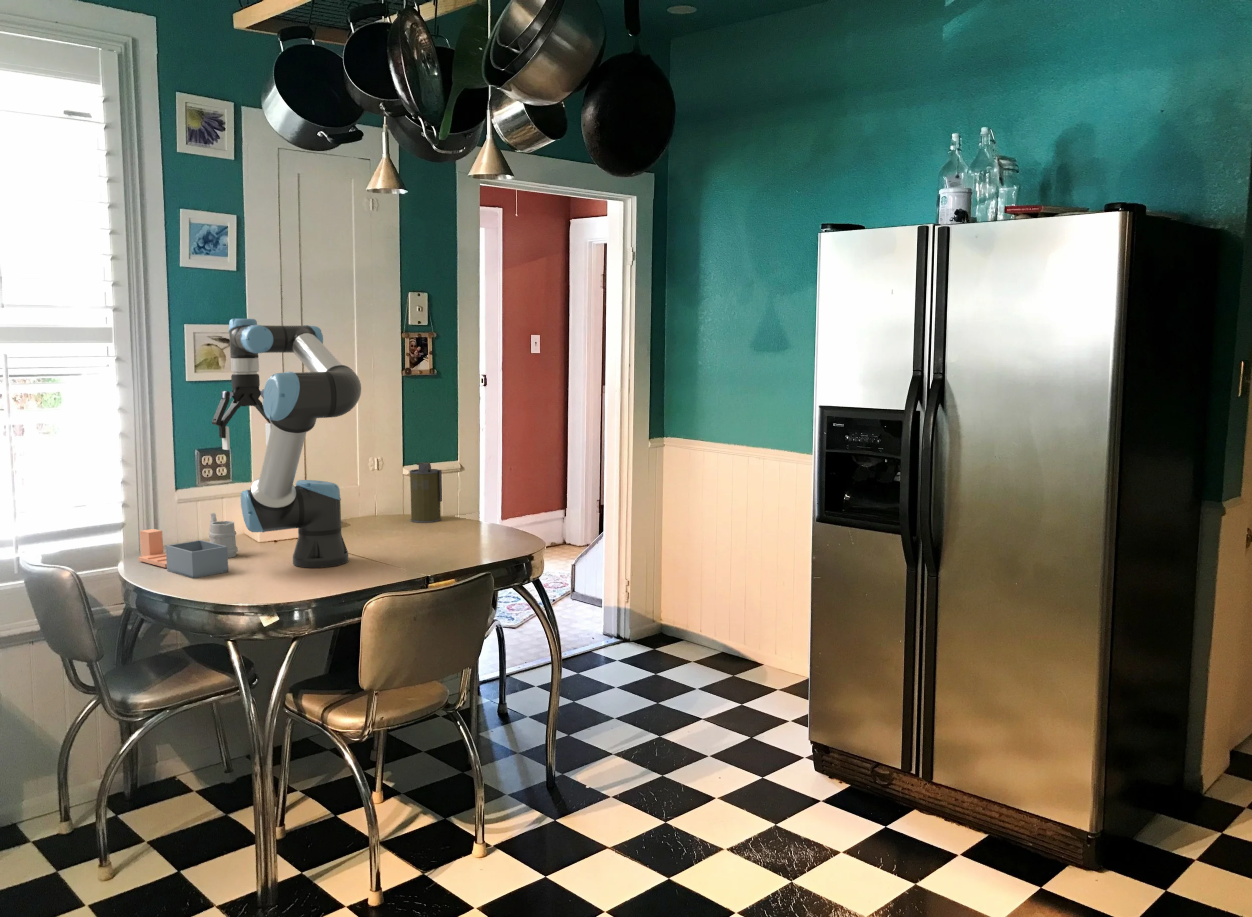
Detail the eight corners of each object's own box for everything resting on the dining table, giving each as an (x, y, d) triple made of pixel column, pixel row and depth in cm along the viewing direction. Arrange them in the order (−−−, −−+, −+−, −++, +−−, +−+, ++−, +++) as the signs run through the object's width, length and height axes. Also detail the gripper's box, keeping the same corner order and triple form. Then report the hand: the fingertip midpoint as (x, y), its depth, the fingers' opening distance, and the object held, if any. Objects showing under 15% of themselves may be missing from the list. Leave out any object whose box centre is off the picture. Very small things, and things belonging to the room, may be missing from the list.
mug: (217, 560, 297) (215, 518, 295) (198, 554, 305) (196, 513, 303) (242, 556, 302) (240, 515, 301) (224, 550, 310) (222, 510, 309)
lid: (201, 562, 294) (200, 534, 293) (165, 569, 285) (163, 540, 285) (165, 553, 306) (164, 527, 305) (130, 560, 297) (128, 532, 297)
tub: (228, 571, 282) (227, 546, 281) (193, 578, 274) (191, 552, 273) (202, 564, 291) (200, 539, 290) (167, 570, 283) (165, 545, 282)
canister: (406, 522, 357) (404, 464, 354) (417, 517, 367) (415, 460, 364) (436, 523, 355) (435, 465, 352) (446, 518, 365) (445, 461, 363)
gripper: (277, 371, 307) (280, 443, 310) (196, 374, 288) (200, 450, 291) (291, 372, 303) (294, 445, 305) (210, 374, 283) (214, 452, 286)
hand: (248, 447), depth 298 cm, fingers open, 13 cm apart
